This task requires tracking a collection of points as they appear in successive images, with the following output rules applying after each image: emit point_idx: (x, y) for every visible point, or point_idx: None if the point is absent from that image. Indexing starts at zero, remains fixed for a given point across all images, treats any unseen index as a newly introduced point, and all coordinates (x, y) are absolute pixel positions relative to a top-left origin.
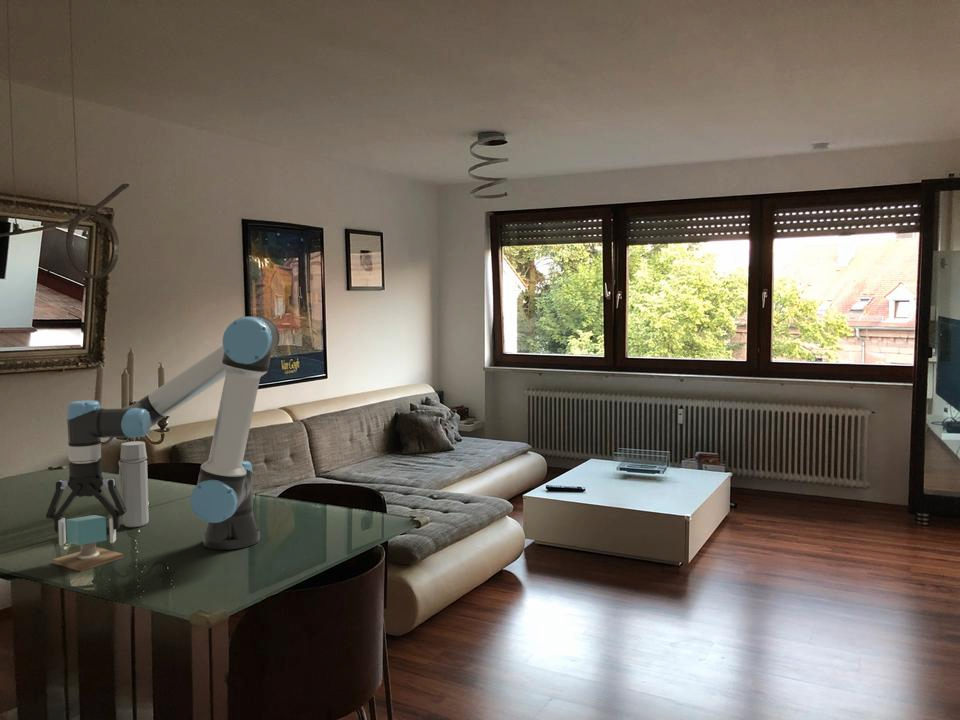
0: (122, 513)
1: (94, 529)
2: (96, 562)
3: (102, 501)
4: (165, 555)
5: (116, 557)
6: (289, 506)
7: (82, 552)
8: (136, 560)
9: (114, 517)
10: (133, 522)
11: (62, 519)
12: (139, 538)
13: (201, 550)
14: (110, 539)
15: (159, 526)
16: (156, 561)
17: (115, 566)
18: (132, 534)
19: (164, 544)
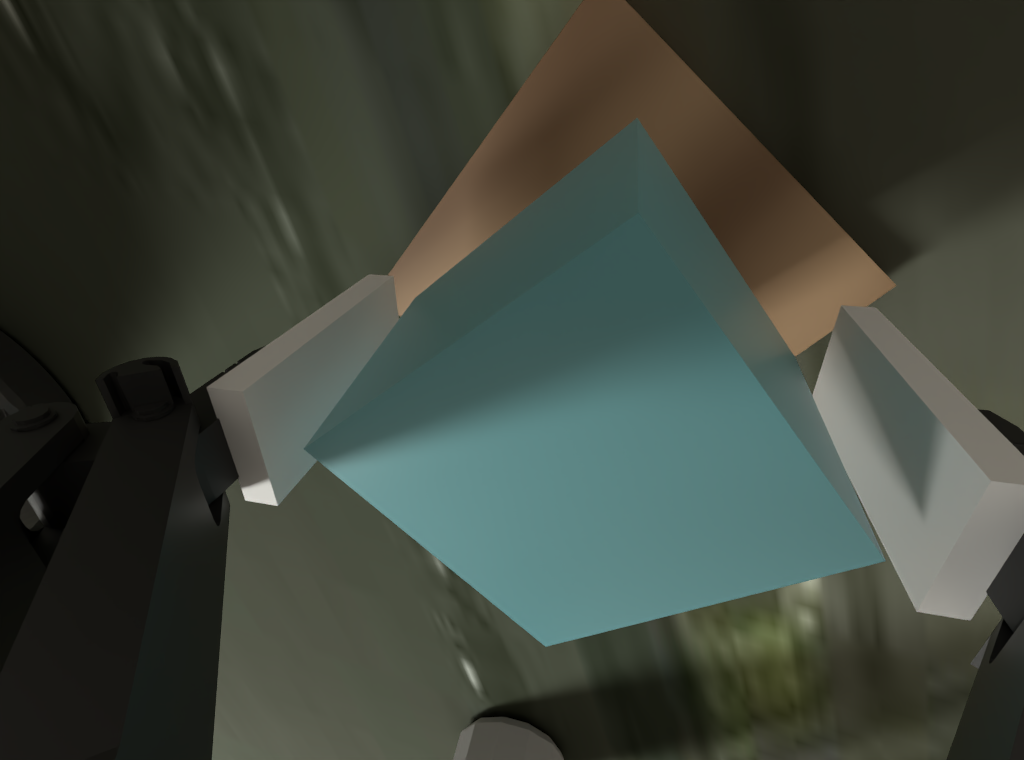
0: (27, 407)
1: (458, 297)
2: (501, 120)
3: (86, 653)
4: (163, 274)
5: (407, 250)
6: None
7: None
8: (283, 209)
9: (145, 366)
10: (503, 740)
11: (965, 544)
12: (431, 582)
13: (32, 318)
14: (374, 288)
15: (405, 691)
16: (150, 159)
17: (367, 89)
18: (486, 642)
19: None
